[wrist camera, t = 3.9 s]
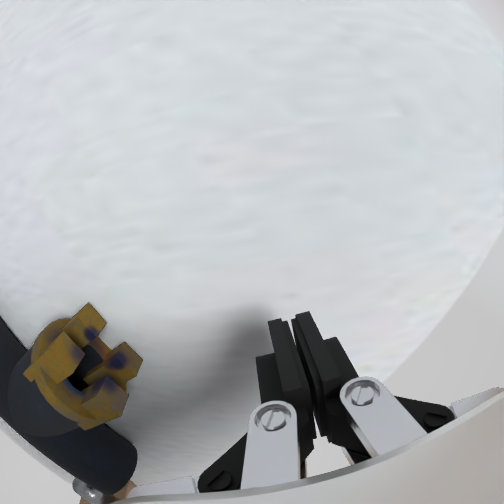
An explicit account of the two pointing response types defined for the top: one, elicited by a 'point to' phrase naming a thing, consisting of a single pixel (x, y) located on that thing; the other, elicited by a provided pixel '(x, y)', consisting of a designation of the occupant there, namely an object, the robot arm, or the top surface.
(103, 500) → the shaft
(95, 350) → the pipe connector
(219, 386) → the top surface
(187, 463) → the top surface
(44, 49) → the top surface
